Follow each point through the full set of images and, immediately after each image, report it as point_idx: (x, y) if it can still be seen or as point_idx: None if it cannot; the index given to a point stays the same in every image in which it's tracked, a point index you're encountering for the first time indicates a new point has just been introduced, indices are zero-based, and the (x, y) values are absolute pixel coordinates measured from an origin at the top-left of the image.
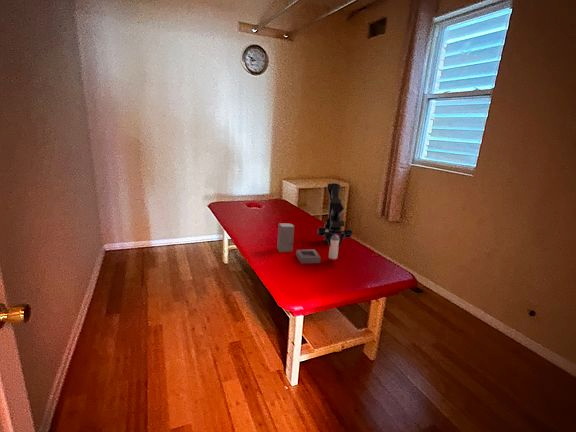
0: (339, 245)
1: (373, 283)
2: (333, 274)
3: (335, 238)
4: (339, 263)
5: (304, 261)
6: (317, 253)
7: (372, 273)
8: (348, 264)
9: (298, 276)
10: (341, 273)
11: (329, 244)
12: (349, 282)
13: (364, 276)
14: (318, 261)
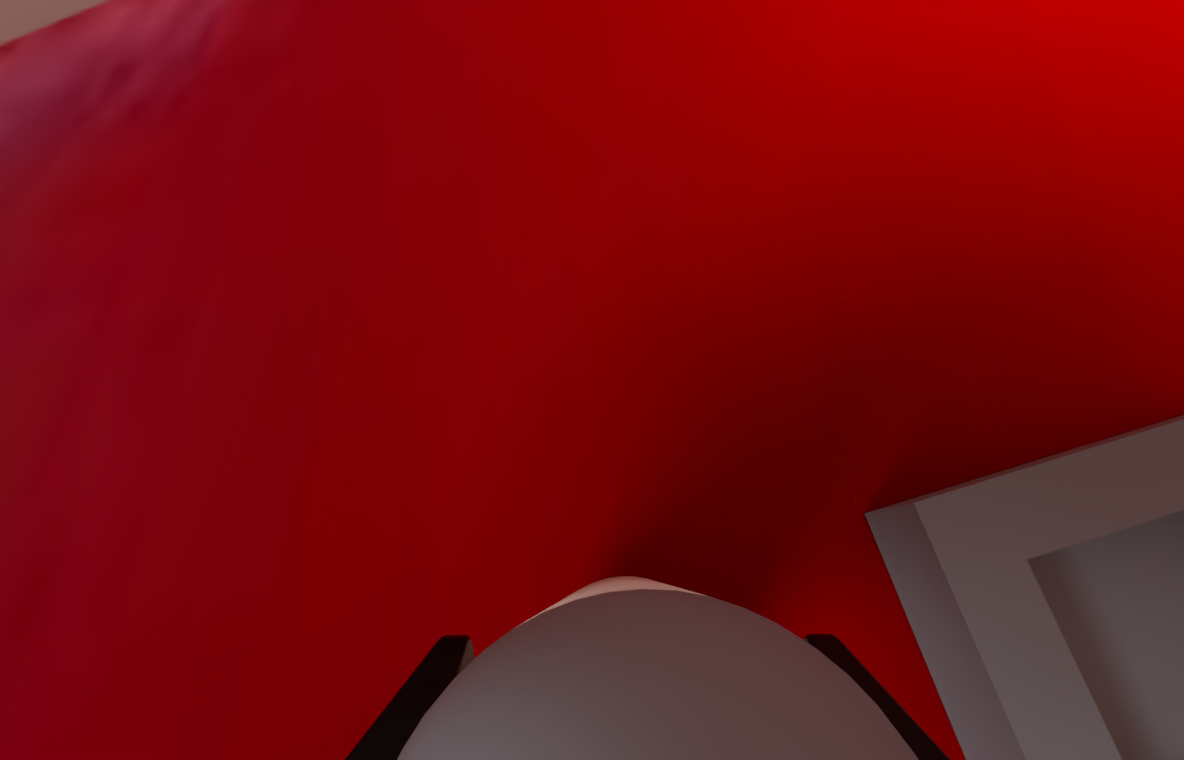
0: (442, 654)
1: (140, 42)
2: (634, 159)
3: (657, 637)
4: (501, 559)
5: (1175, 419)
6: (1020, 729)
7: (35, 296)
8: (339, 549)
9: (1110, 23)
10: (514, 208)
11: (852, 660)
12: (442, 10)
13: (194, 187)
14: (908, 500)
